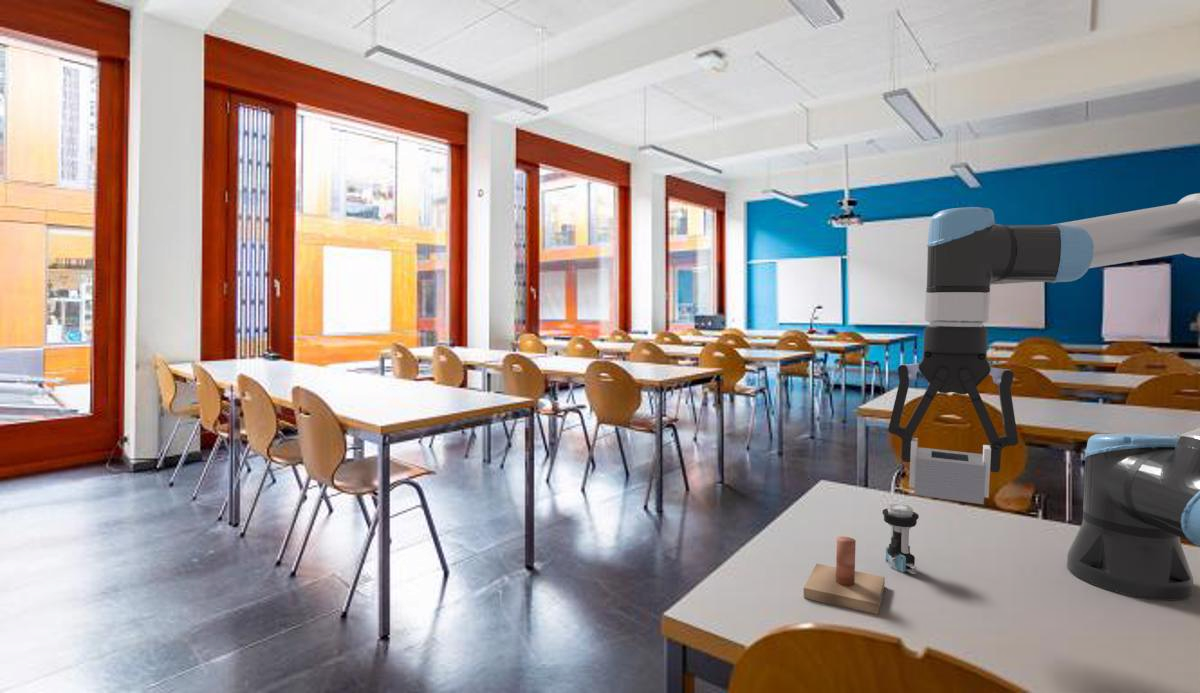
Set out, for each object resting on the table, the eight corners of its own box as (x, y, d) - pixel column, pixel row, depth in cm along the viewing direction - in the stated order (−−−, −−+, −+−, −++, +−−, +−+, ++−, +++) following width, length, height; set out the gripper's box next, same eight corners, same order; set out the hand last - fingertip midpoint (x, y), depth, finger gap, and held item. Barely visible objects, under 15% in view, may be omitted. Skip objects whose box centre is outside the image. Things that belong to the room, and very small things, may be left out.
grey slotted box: (980, 489, 87) (982, 454, 87) (983, 504, 80) (985, 466, 80) (916, 480, 91) (917, 447, 91) (914, 494, 84) (916, 458, 84)
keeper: (884, 586, 95) (886, 535, 95) (877, 614, 86) (879, 557, 86) (816, 572, 100) (817, 523, 100) (803, 597, 91) (804, 544, 91)
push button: (929, 576, 99) (931, 514, 98) (898, 578, 98) (900, 515, 98) (903, 559, 106) (905, 501, 105) (874, 561, 105) (876, 502, 104)
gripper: (1045, 326, 83) (1035, 494, 84) (874, 322, 93) (868, 473, 94) (1054, 327, 76) (1043, 510, 77) (869, 323, 86) (863, 485, 87)
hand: (947, 489), depth 86 cm, fingers closed on grey slotted box, 8 cm apart
